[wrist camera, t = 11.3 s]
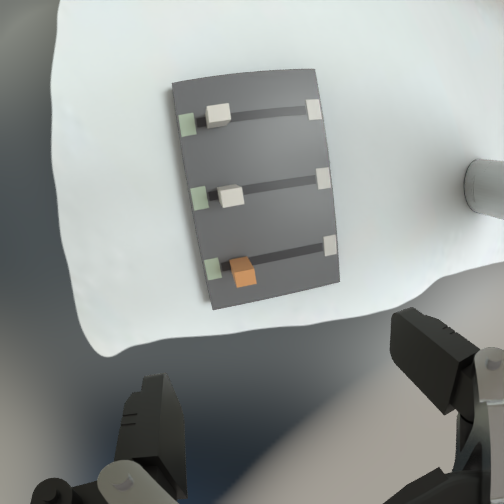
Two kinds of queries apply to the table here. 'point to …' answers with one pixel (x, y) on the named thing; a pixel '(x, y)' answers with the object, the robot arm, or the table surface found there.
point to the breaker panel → (259, 181)
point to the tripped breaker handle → (242, 272)
